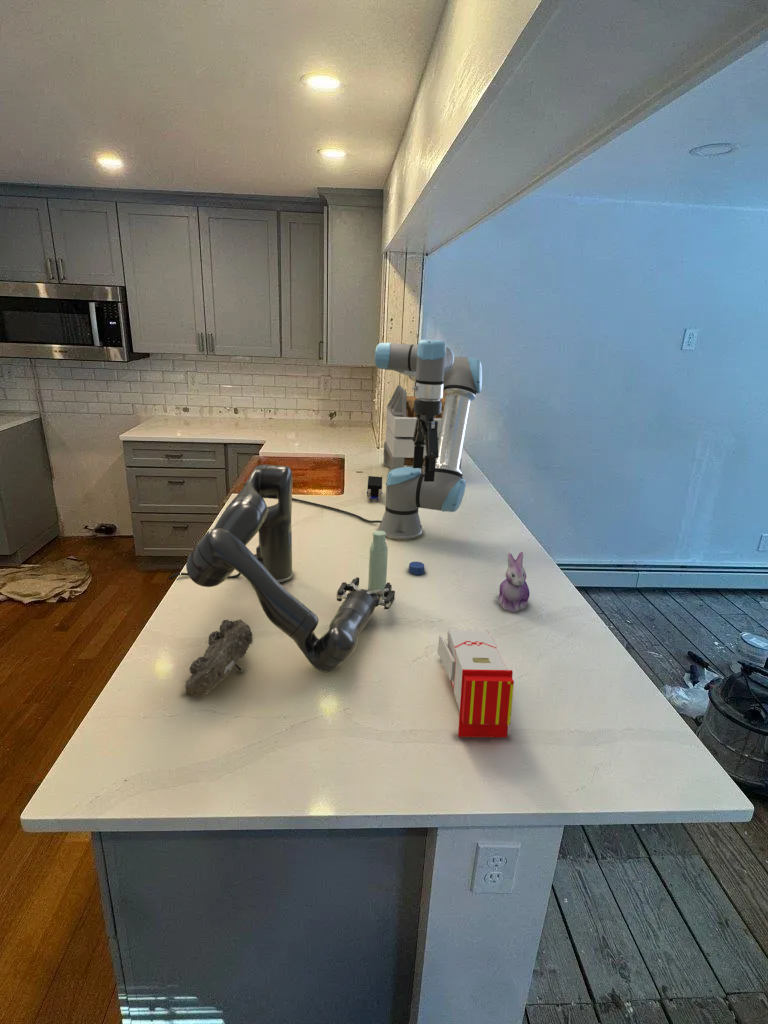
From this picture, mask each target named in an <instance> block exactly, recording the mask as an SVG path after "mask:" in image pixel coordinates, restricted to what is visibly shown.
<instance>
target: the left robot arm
mask: <svg viewBox="0 0 768 1024" xmlns="http://www.w3.org/2000/svg"><path fill="white" fill-rule="evenodd" d="M293 481H294V480H293V471H292V469H291V467H290V466H289V465H288V466H287V465H279V464H278V465H277V464H259V465H257V466H255V467H254V468H253V469H252V471H251V472H250V474H249V476H248V478H247V480H246V482H245V483H246V484H245V483H244V484H245V485H244V484H243V487H242V488H241V490H240V491H239V492H238V494H237V495H236V496H235V497H234V498H233V499H232V501H231V502H230V503H229V504H228V505H227V506H226V508H225V509H224V511H223V512H222V514H221V515H220V517H219V518H218V520H217V522H216V524H215V525H214V527H213V528H211V529H209V530H208V531H207V532H206V533H205V534H204V535H203V536H202V538H201V539H200V540H199V541H198V542H197V544H196V545H195V546H194V547H193V549H192V550H191V551H190V552H189V554H188V556H187V558H186V561H185V562H186V563H185V567H186V568H185V569H186V572H175V573H174V574H171V575H170V576H169V577H168V580H173V579H174V578H175V577H177V576H187V577H189V578H190V580H191V581H192V582H193V583H194V584H196V585H197V586H200V587H205V588H212V587H217V586H219V585H221V584H222V583H224V582H225V581H226V580H227V579H237V578H238V577H240V576H241V575H242V576H243V577H244V578H245V579H246V580H247V581H248V583H249V584H250V586H251V587H252V589H253V590H254V593H255V595H256V597H257V599H258V602H259V604H260V606H261V608H262V611H263V612H264V614H265V616H266V618H267V619H269V620H268V621H270V622H271V623H272V624H273V625H274V626H275V627H276V628H278V629H279V630H280V631H282V632H283V633H284V634H285V635H287V636H288V637H289V638H290V639H291V640H293V642H294V643H295V645H296V646H297V647H298V649H299V650H300V651H301V653H302V654H303V655H304V657H305V658H306V659H307V661H308V662H309V663H310V665H311V666H312V667H313V668H315V669H316V670H318V671H319V672H320V671H321V672H323V673H329V672H333V671H334V670H335V669H336V668H338V667H339V666H340V665H341V664H342V663H343V662H345V661H346V660H347V659H348V658H350V656H351V655H352V654H353V653H354V651H356V648H357V646H358V642H359V636H360V634H361V633H362V631H363V629H364V628H366V626H367V624H368V622H369V620H370V619H371V617H372V615H373V613H374V612H375V609H376V608H377V607H379V606H380V607H383V609H384V610H390V608H391V606H392V605H393V603H394V602H395V601H396V600H395V599H396V597H395V595H396V591H395V590H393V589H392V587H393V586H392V584H391V582H389V581H388V582H387V581H386V586H385V587H384V589H382V590H380V589H377V590H374V591H370V590H368V589H364V588H360V586H359V585H360V577H358V576H356V577H355V578H352V580H351V582H349V583H347V582H345V581H344V582H341V584H340V586H339V587H338V589H337V591H336V601H337V602H342V601H343V602H342V603H341V605H339V608H338V610H337V612H336V614H335V616H334V617H333V618H332V620H331V622H330V624H329V627H328V630H327V631H326V632H325V633H324V634H323V635H321V637H319V638H318V637H317V635H316V633H315V630H316V628H317V626H318V625H319V618H318V615H317V614H316V613H315V612H314V611H312V610H311V609H310V608H308V607H307V606H306V605H305V604H304V603H302V602H301V601H300V600H299V599H298V598H296V597H295V596H294V595H293V594H291V593H290V592H289V591H288V590H287V589H286V588H285V587H283V585H281V583H285V582H288V581H290V580H291V579H292V578H293V575H294V574H293V536H292V535H293V534H292V533H293V529H292V528H293V527H292V525H293V523H292V511H293V500H292V498H293ZM265 499H270V500H277V503H276V504H273V505H270V506H269V505H267V503H266V501H265ZM257 534H258V546H256V548H255V553H253V552H252V551H251V550H250V549H249V548H248V547H247V545H248V543H249V542H250V541H251V540H252V539H253V538H254V537H255V536H256V535H257ZM234 571H237V572H238V573H237V574H234V575H232V573H233V572H234ZM180 573H181V575H180ZM347 592H348V593H347ZM383 593H384V596H382V594H383ZM376 594H377V595H376Z"/></svg>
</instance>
